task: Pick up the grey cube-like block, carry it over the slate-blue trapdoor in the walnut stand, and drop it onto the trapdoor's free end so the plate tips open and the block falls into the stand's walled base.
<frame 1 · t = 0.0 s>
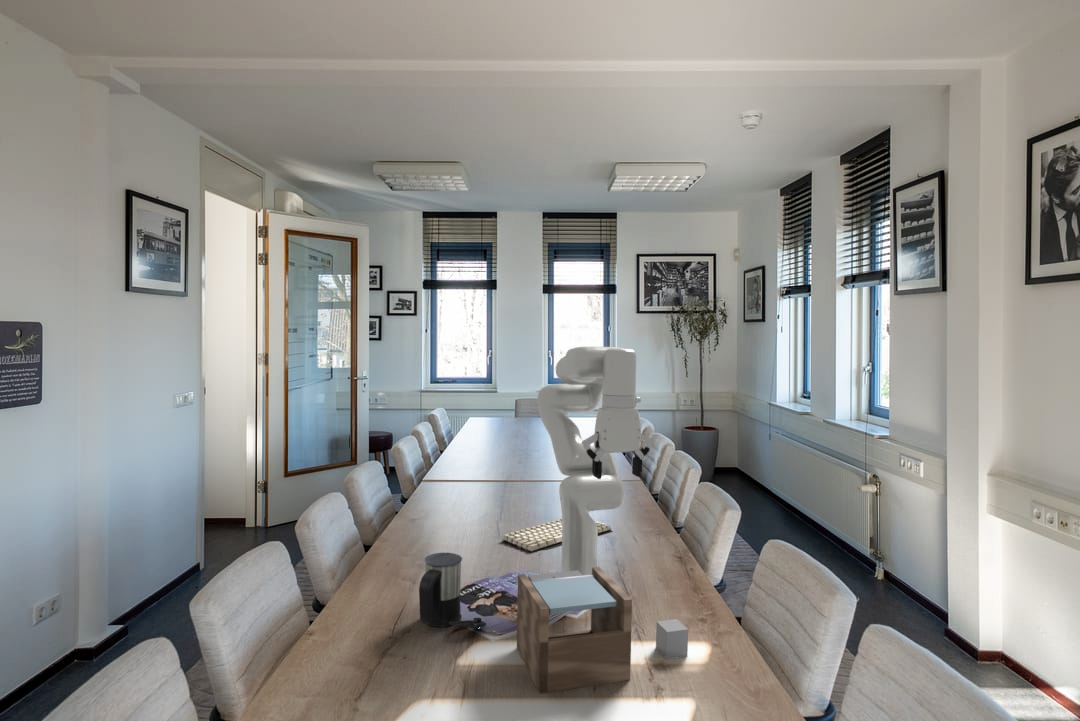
hand: (617, 476, 144), 37 cm above the table, fingers open, 9 cm apart
milk frother: (454, 624, 149), on the table
mechanical keyboard: (557, 538, 216), on the table
grey cube-like block: (671, 652, 138), on the table
trapdoor: (567, 598, 135), point 13 cm above the table, hinge at 0.0°
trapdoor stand: (570, 663, 132), on the table
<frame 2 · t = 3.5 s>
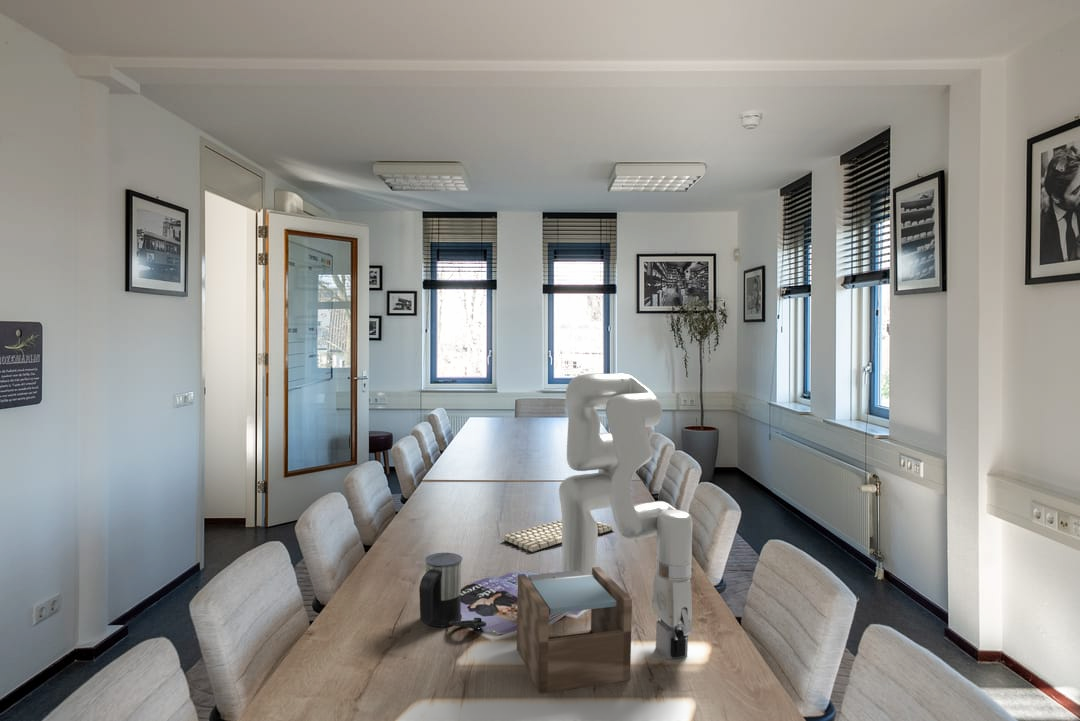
hand: (671, 648, 138), 1 cm above the table, fingers closed on grey cube-like block, 5 cm apart
grey cube-like block: (671, 652, 138), on the table, touching gripper
everything else where it was.
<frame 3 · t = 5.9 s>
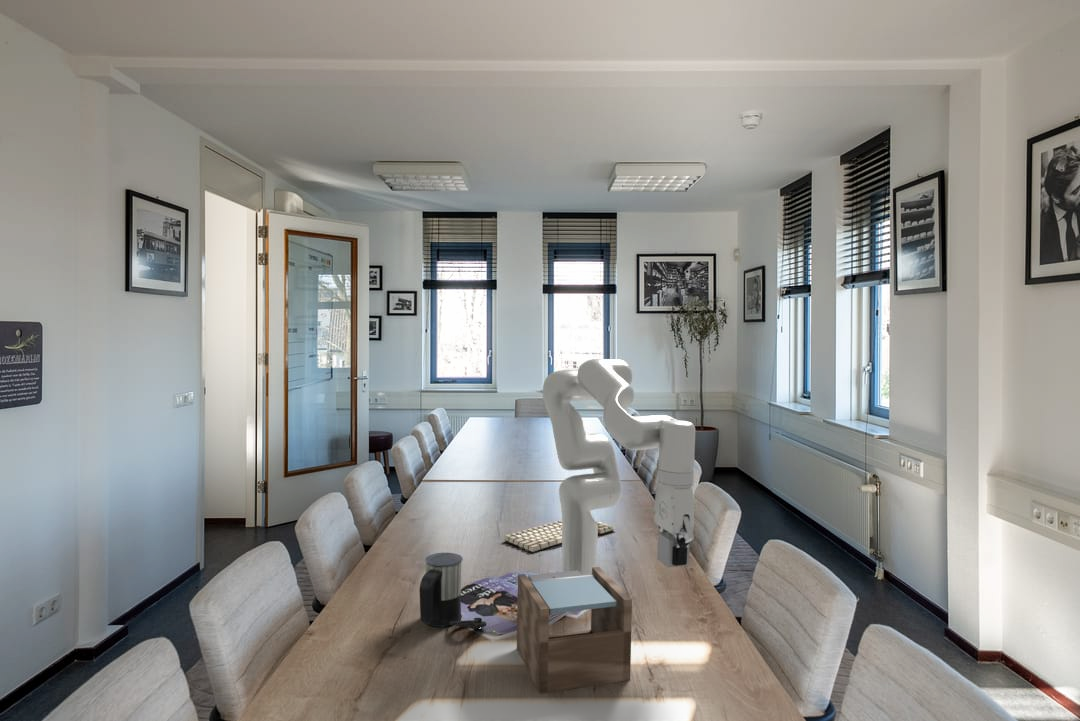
hand: (672, 559, 137), 21 cm above the table, fingers closed on grey cube-like block, 5 cm apart
grey cube-like block: (672, 562, 137), point 20 cm above the table, touching gripper
everything else where it was.
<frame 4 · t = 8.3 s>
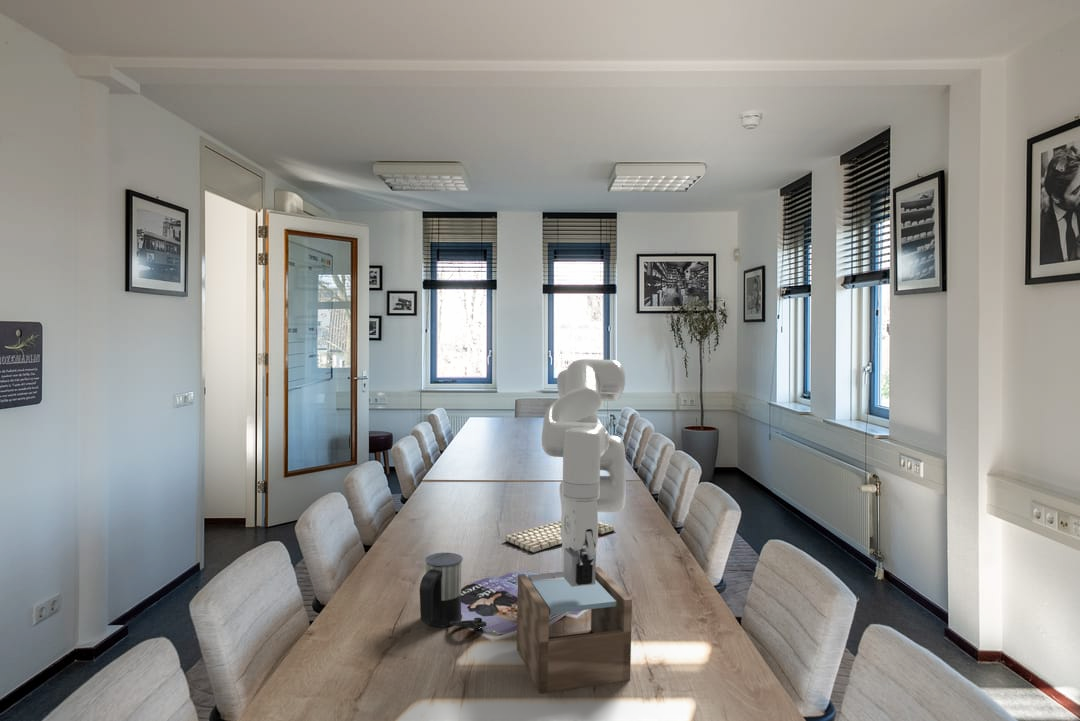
hand: (579, 577, 128), 20 cm above the table, fingers closed on grey cube-like block, 5 cm apart
grey cube-like block: (579, 580, 128), point 19 cm above the table, touching gripper
when the fingers open (19 cm above the table, at t = 9.2 s): grey cube-like block drops 10 cm and tips over, resting on trapdoor, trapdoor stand.
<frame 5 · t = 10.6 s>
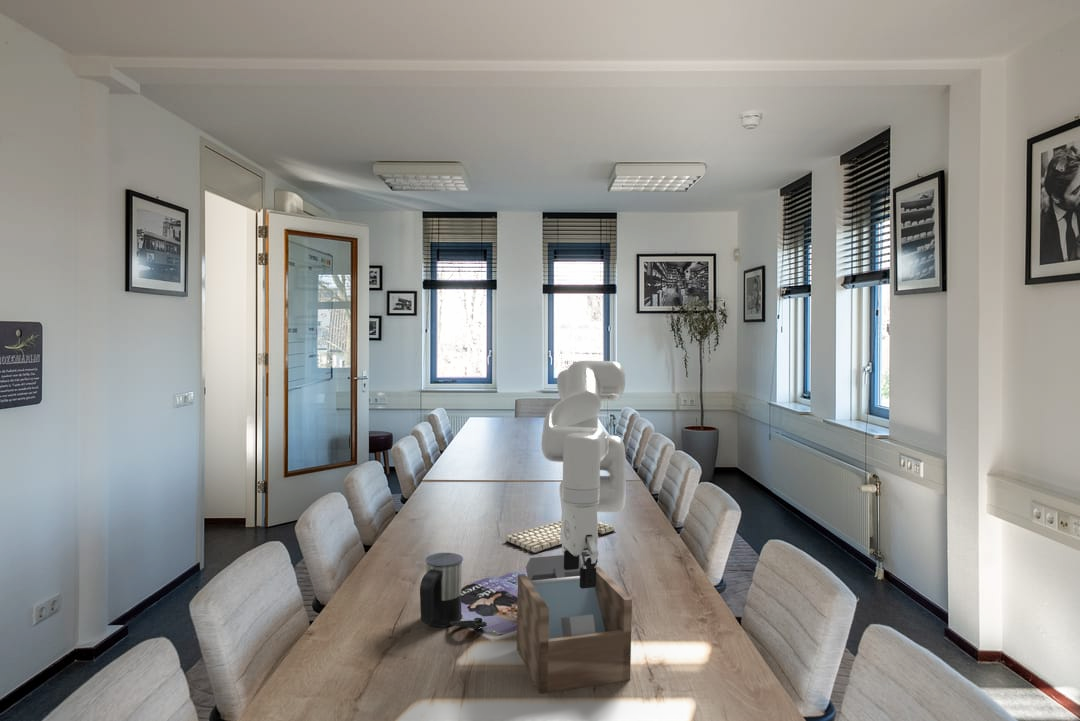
hand: (579, 577, 128), 20 cm above the table, fingers open, 9 cm apart
grey cube-like block: (573, 629, 131), point 8 cm above the table, tilted 64°, touching trapdoor, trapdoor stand
trapdoor: (562, 602, 138), point 10 cm above the table, hinge at -46.3°, touching grey cube-like block
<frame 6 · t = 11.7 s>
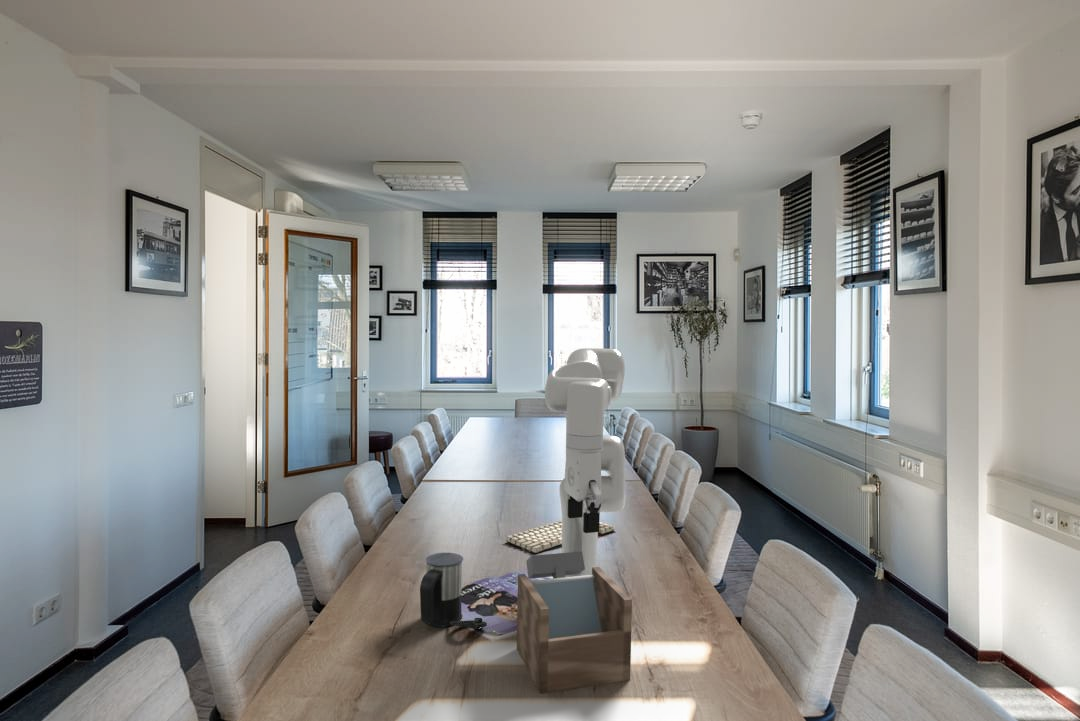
hand: (582, 524, 129), 30 cm above the table, fingers open, 9 cm apart
grey cube-like block: (572, 654, 131), point 2 cm above the table, tilted 90°, touching trapdoor
trapdoor: (561, 601, 139), point 10 cm above the table, hinge at -57.7°, touching grey cube-like block
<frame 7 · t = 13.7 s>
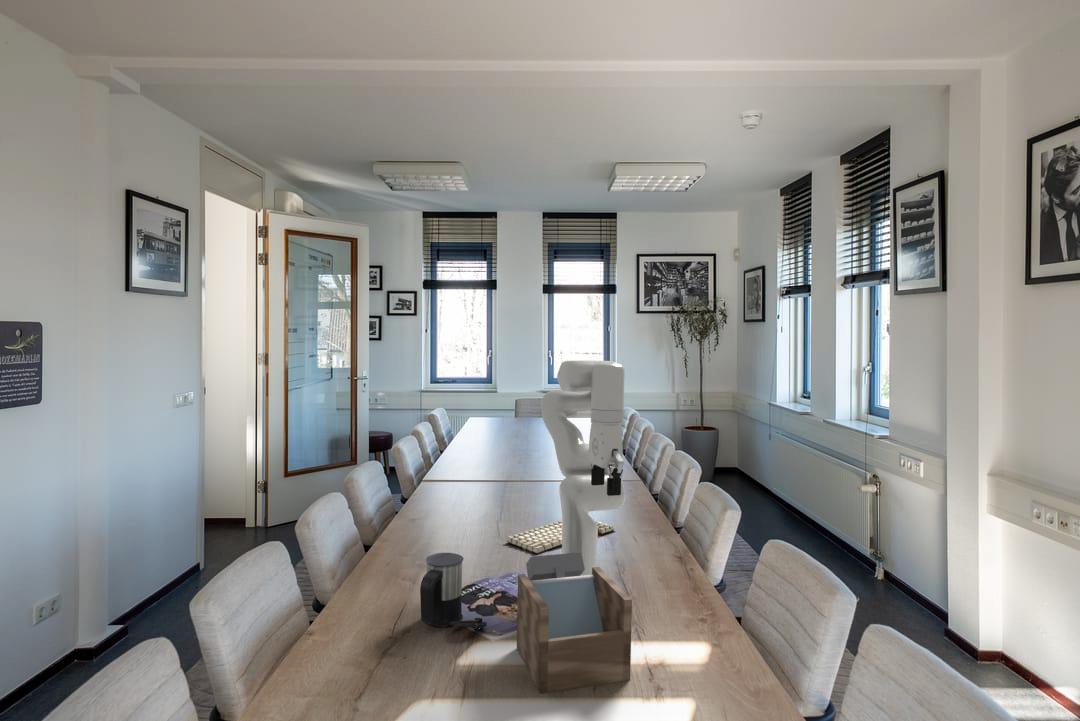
hand: (605, 489, 146), 33 cm above the table, fingers open, 9 cm apart
grey cube-like block: (574, 656, 130), point 2 cm above the table, tilted 90°, touching trapdoor, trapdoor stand
trapdoor: (562, 602, 138), point 10 cm above the table, hinge at -52.1°, touching grey cube-like block
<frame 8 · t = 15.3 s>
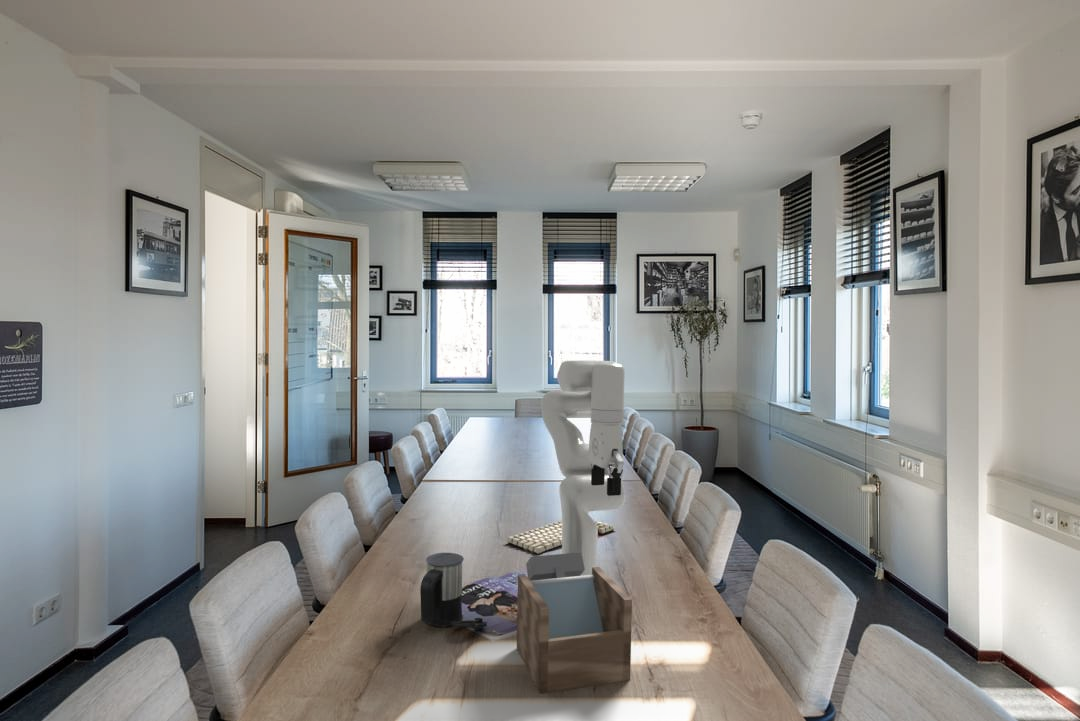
hand: (605, 489, 146), 33 cm above the table, fingers open, 9 cm apart
at the end: grey cube-like block inside the target area on the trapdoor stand (2.8 cm from its centre), point 2.4 cm above the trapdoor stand's base; grey cube-like block moved 23.2 cm from its start; the gripper is holding nothing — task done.
